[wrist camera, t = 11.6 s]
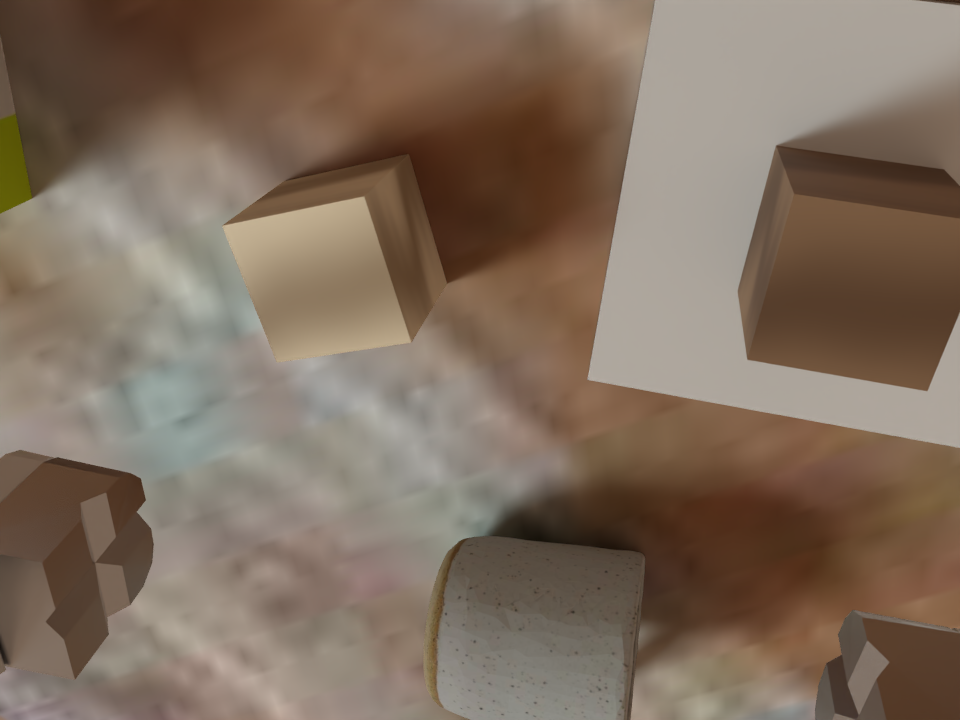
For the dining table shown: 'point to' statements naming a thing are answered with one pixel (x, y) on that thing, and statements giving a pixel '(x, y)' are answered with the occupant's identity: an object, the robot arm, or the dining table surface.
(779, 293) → the walnut block
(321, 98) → the dining table surface
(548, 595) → the ceramic mug
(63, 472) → the robot arm
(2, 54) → the puzzle toy
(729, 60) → the white coaster
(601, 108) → the dining table surface
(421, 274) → the maple block
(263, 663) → the dining table surface
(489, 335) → the dining table surface
